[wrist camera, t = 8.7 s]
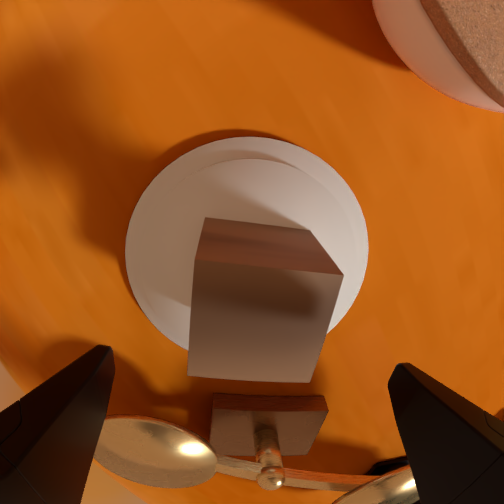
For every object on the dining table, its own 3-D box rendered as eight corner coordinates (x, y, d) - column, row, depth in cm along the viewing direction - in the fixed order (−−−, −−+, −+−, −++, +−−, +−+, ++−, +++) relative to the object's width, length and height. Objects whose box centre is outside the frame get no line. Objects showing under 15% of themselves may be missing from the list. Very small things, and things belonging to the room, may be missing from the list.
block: (289, 318, 17) (309, 382, 12) (196, 310, 16) (187, 375, 12) (309, 230, 15) (344, 275, 11) (204, 217, 15) (194, 259, 10)
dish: (387, 162, 16) (398, 165, 14) (331, 360, 20) (336, 373, 19) (135, 124, 14) (127, 124, 13) (131, 344, 19) (126, 357, 17)
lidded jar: (304, -35, 11) (367, -139, 3) (440, -49, 10) (528, -93, 1) (393, 137, 15) (528, 161, 6) (506, 91, 14) (614, 101, 5)
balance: (422, 376, 22) (470, 451, 14) (381, 441, 25) (409, 509, 17) (92, 360, 19) (50, 458, 11) (110, 434, 22) (90, 516, 14)
